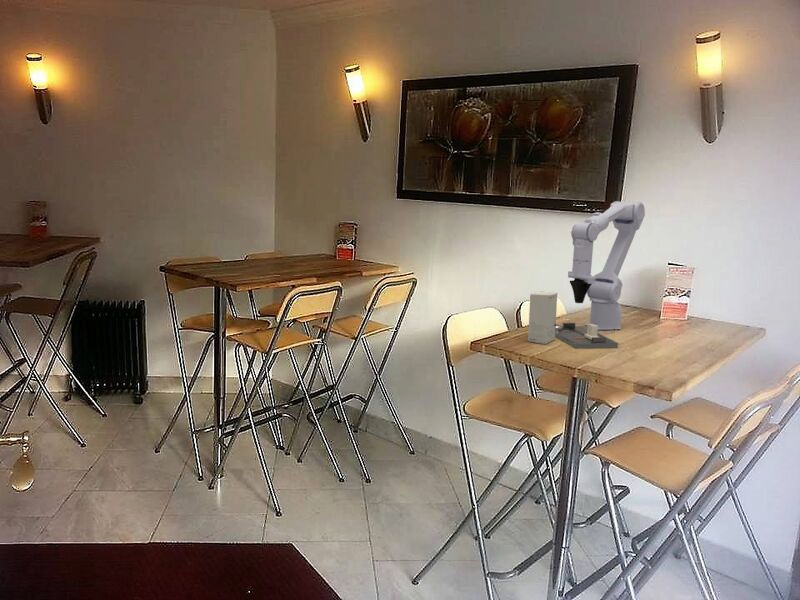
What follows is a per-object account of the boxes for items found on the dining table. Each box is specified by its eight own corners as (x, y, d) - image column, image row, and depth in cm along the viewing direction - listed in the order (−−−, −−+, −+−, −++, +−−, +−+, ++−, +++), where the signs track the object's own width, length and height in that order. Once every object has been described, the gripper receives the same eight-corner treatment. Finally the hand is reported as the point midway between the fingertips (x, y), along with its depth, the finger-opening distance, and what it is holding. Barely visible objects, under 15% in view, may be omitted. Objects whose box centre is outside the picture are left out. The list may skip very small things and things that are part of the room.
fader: (592, 336, 181) (593, 323, 180) (599, 339, 177) (600, 326, 176) (584, 336, 180) (585, 323, 180) (591, 339, 176) (592, 326, 175)
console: (582, 330, 196) (583, 322, 195) (617, 347, 174) (618, 338, 174) (545, 331, 193) (545, 322, 193) (576, 348, 172) (576, 338, 172)
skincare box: (545, 345, 176) (549, 295, 173) (526, 341, 179) (529, 293, 176) (555, 339, 183) (558, 291, 180) (536, 336, 186) (539, 289, 183)
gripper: (560, 258, 194) (557, 298, 197) (581, 263, 180) (577, 307, 183) (580, 258, 196) (577, 298, 198) (602, 263, 182) (599, 307, 184)
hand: (578, 302), depth 190 cm, fingers closed
